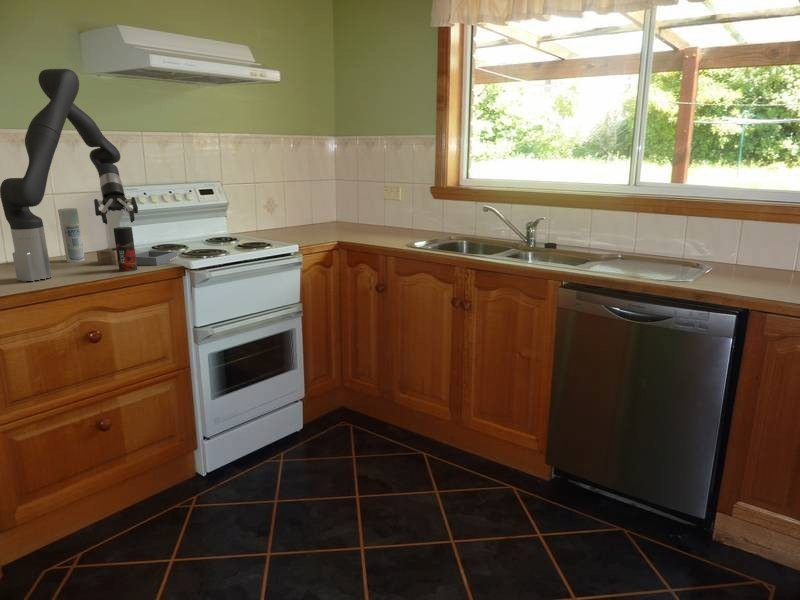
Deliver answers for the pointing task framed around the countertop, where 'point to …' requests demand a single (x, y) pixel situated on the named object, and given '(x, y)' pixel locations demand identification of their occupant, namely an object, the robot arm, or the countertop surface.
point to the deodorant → (125, 249)
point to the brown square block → (107, 256)
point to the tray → (154, 257)
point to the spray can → (71, 234)
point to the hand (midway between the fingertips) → (119, 222)
